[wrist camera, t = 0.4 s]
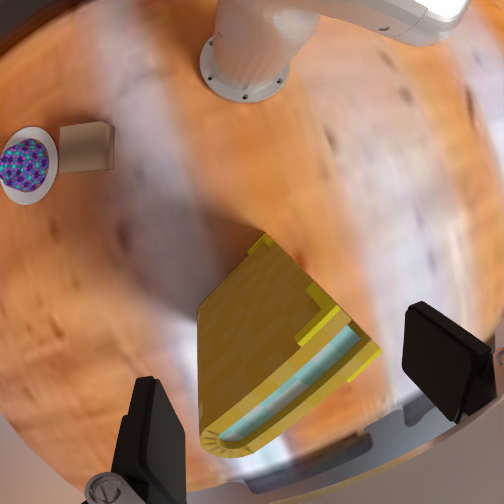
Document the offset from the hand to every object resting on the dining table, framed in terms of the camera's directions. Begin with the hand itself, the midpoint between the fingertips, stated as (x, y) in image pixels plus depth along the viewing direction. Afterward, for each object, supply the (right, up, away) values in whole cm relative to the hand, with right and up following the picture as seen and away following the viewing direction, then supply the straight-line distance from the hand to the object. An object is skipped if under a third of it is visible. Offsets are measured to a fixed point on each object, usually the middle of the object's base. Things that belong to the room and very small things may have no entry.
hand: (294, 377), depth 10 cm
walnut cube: (-23, +19, +27) cm, 41 cm away
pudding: (-35, +18, +26) cm, 47 cm away
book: (-3, -1, +36) cm, 36 cm away
